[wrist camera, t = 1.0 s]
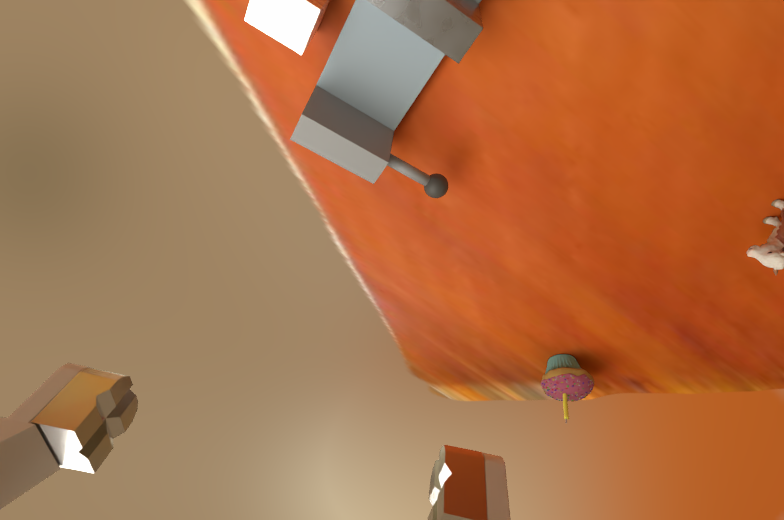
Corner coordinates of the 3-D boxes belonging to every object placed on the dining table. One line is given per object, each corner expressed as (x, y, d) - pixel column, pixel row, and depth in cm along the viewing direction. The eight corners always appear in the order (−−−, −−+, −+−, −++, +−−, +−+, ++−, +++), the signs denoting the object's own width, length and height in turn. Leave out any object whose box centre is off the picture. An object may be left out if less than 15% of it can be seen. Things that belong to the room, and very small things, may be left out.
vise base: (394, -84, 33) (385, -66, 28) (553, 39, 38) (570, 73, 33) (308, 102, 45) (290, 139, 39) (438, 176, 50) (437, 218, 45)
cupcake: (527, 363, 78) (537, 428, 69) (559, 342, 72) (574, 410, 63) (564, 376, 80) (577, 441, 71) (598, 357, 74) (617, 424, 66)
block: (281, -48, 35) (258, -31, 31) (334, -12, 37) (320, 9, 33) (266, -2, 38) (244, 20, 34) (317, 30, 39) (301, 55, 35)
